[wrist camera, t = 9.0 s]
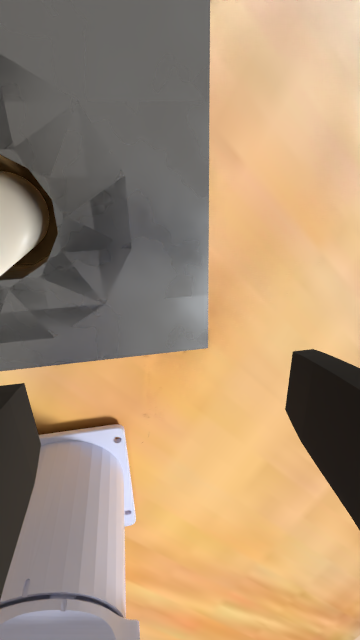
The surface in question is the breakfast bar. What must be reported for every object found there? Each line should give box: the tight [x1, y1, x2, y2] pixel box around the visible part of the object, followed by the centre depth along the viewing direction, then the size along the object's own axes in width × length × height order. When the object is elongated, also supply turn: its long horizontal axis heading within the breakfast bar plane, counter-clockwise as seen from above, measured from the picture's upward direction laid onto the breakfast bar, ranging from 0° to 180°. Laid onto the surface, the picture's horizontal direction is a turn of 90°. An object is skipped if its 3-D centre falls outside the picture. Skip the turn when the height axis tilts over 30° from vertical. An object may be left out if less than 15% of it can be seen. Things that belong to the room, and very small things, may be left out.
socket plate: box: [0, 0, 210, 371], centre depth 14 cm, size 14×18×2 cm
